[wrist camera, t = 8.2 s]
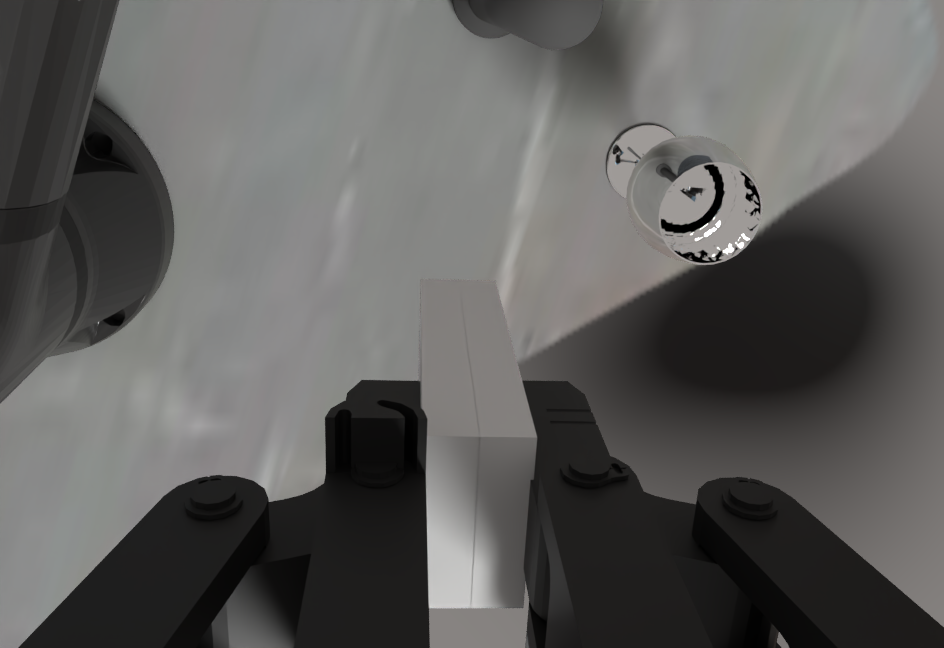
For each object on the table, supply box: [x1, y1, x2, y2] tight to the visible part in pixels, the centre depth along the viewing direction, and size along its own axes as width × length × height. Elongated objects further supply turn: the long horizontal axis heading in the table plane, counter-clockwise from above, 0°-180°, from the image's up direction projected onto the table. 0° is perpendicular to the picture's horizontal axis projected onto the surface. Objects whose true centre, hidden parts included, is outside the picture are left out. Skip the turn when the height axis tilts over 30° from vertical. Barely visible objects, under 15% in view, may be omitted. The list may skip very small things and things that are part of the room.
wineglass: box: [607, 125, 763, 265], centre depth 44 cm, size 6×6×12 cm
